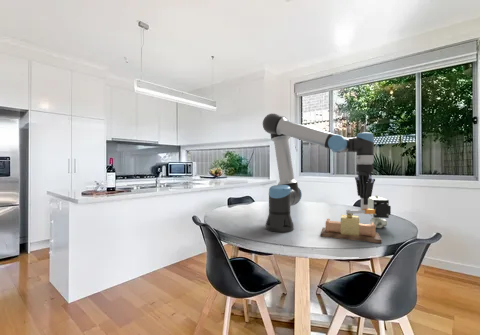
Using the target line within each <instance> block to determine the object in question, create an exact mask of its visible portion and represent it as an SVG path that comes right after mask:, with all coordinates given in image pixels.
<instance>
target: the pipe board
mask: <svg viewBox="0 0 480 335" xmlns="http://www.w3.org/2000/svg"><path fill="white" fill-rule="evenodd" d="M322 236H323V238H331V237H332V238H334V239H341V240H348V239H349V240H351V241H357V240H359V241H360V242H366V241H367V242H369V243H376V244H382V241H383V240H382V238H381V236H380V234H379V232H376V236H375V237H372V236H367V235H359V236H352V235H342V234H341V233H338V232H326V227H322V228H321V231H320V237H322ZM367 242H366V243H367Z"/></svg>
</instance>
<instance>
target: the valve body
mask: <svg viewBox="0 0 480 335" xmlns="http://www.w3.org/2000/svg"><path fill="white" fill-rule="evenodd" d="M325 228H326V232H338V233H341V234H342V235H352V236H359V235H367V236H372V237H375V236H376V233H377V232H376V227H375V225H374V223H371V222H370V223H360V216H359V215H354V214H353V215H348V214H340V221H337V220H331V219H330V218H326V221H325Z"/></svg>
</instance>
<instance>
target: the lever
mask: <svg viewBox="0 0 480 335" xmlns="http://www.w3.org/2000/svg"><path fill="white" fill-rule="evenodd" d="M345 213H346V214H345V215H347V214H348V215H353V216H354V214H355V215H357V214H364V215H370V214H375V209H362V210H361V209H347V210H346V212H345Z"/></svg>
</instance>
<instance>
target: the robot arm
mask: <svg viewBox="0 0 480 335" xmlns="http://www.w3.org/2000/svg"><path fill="white" fill-rule="evenodd" d="M262 127H263V130H264V131H265V132H266V133H268V134H270V139H271V141H272V142H273V145H274V150H275V157H276V164H277V172H278V178H279V182H278V183H277V184H276V185H272V186H270V187H269V189H268V216H267V219H266V222H265V229H266V230H268V231H270V232H275V233H286V232H287V233H288V232H293V231H294V230H295V229H294V228H295V226H294V222H293V219H292V216H291V207H292V206H295V205H297V204H298V203H299V202H300V201H301V199H302V194H303V193H302V189H300V187H299V184H298V183H299V182H298V181H297V180H296V179H295V176H294V175H295V174H294V168H293V162H292V156H291V154H292V153H291V148H290V141H289V139H290V138H293V139H297V140H300V141H303V142H307V143H309V144H313V145H316V146H318V147H321V148H326V149H328V150H331V151H332V152H333V153H337V154H341V153H356V172H358V175H357V176H356V177H354V179H355V183H356V192H357V196H358V197H360V210H362V209H368V198H370V197H372V195H373V194H372V193H373V188H374V183H375V181H376V178H373V176H372V173H373V172H374V165H373V164H374V157H375V156H374V150H375V145H374V144H375V140H374V133H372V132H359V133H357V134H356V136H355V137H344V136H343V135H341V134H335V133H331V132H328V131H325V130H322V129H318V128H314V127H311V126H308V125H305V124H304V125H303V124H299V123H297V122H293V121H290V120H289V119H288V118H287V117H286V116H283V115H280V114H277V113H269V114H267V115H266V116H265V117H264V118H263V119H262Z"/></svg>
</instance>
